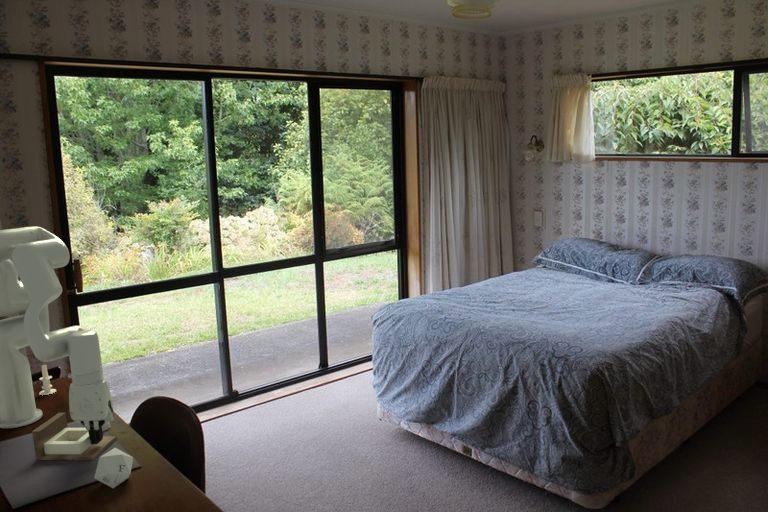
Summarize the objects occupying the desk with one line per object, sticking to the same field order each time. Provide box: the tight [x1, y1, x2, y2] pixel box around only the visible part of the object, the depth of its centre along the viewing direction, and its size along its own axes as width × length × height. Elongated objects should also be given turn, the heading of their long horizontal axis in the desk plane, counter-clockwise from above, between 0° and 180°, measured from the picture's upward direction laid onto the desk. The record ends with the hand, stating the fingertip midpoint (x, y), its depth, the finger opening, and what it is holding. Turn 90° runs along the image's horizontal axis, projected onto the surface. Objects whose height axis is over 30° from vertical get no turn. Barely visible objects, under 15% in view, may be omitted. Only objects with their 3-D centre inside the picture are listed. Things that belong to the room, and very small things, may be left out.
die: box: [93, 447, 134, 489], centre depth 159 cm, size 8×9×10 cm
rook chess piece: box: [102, 422, 112, 432], centre depth 190 cm, size 4×4×8 cm
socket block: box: [44, 427, 92, 454], centre depth 178 cm, size 10×10×3 cm
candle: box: [38, 364, 57, 397], centre depth 221 cm, size 5×5×10 cm
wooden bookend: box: [31, 412, 118, 461], centre depth 178 cm, size 16×12×8 cm
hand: (96, 441), depth 177 cm, fingers closed
